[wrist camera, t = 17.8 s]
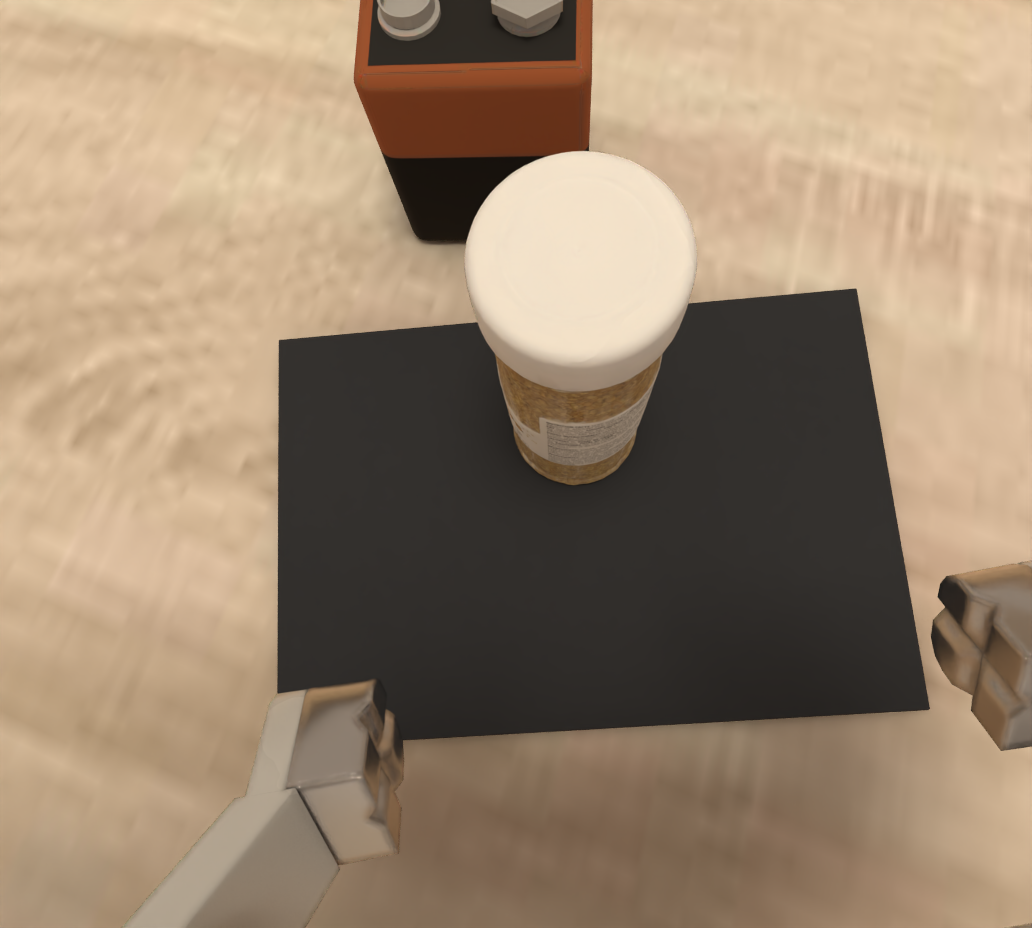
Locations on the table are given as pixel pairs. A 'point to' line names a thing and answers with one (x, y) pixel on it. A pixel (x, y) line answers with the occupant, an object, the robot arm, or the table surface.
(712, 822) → the table surface
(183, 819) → the table surface
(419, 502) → the desk pad
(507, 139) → the battery
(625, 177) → the sprinkles bottle
